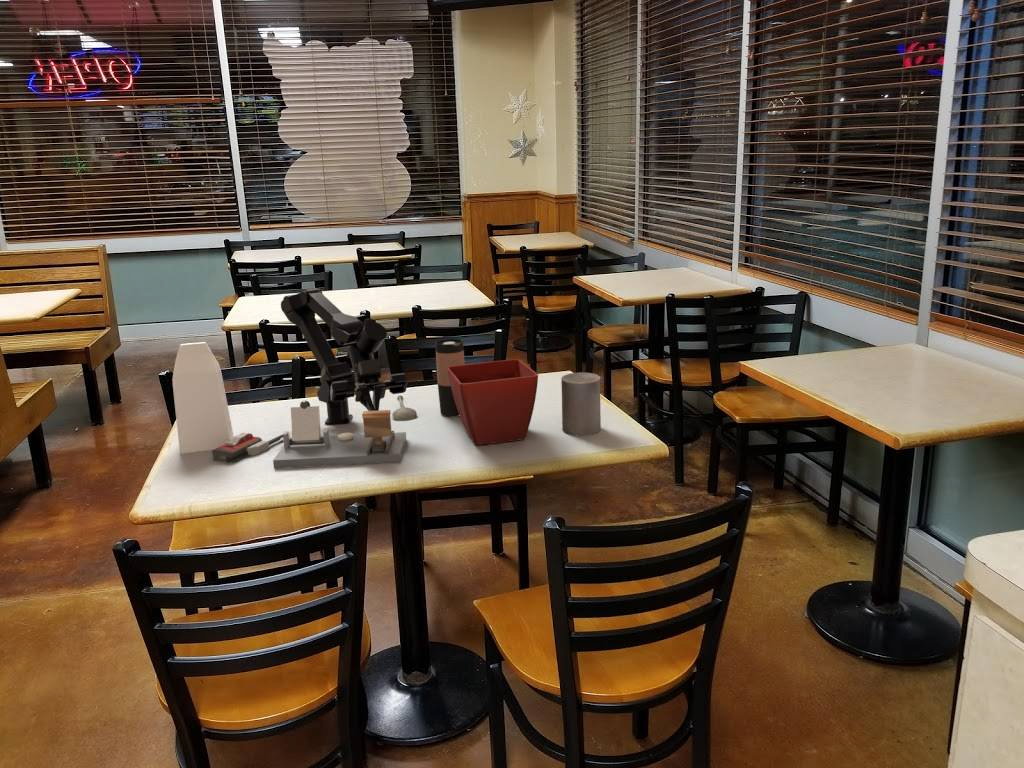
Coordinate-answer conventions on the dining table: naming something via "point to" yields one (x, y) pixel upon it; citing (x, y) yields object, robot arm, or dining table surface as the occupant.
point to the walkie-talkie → (242, 447)
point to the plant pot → (494, 399)
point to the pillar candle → (581, 404)
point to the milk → (200, 400)
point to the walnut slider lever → (377, 427)
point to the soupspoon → (404, 412)
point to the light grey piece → (305, 425)
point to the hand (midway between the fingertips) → (376, 417)
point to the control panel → (340, 451)
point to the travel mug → (447, 355)
